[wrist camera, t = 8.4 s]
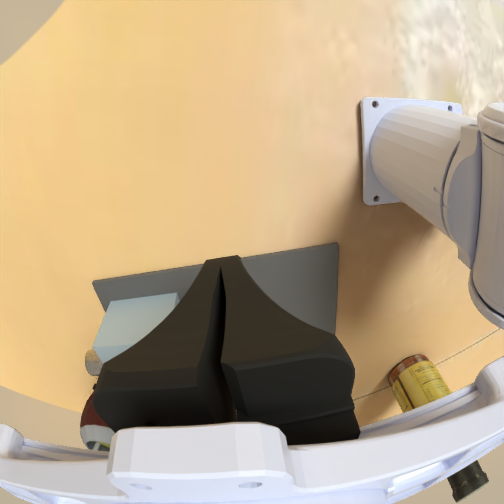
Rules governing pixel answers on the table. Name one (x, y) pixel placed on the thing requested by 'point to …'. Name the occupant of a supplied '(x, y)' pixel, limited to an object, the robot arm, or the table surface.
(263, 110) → the table surface
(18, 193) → the table surface
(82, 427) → the mate gourd
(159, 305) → the block
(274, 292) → the mat
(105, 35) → the table surface
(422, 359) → the sauce bottle
